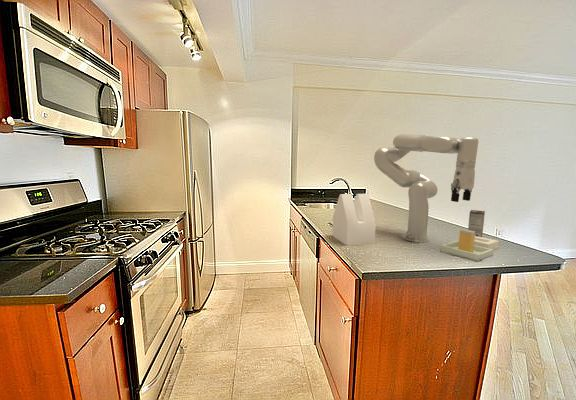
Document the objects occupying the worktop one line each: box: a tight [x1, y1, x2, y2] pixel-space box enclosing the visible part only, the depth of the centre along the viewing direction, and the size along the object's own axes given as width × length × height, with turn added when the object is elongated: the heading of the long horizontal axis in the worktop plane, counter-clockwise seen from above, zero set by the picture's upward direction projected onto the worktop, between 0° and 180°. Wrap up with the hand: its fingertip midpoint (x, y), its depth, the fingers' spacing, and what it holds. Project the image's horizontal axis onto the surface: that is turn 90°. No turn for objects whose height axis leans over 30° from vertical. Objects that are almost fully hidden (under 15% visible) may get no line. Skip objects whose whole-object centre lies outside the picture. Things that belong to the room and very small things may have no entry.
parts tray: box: [439, 240, 495, 263], centre depth 125 cm, size 14×16×3 cm
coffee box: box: [467, 209, 486, 238], centre depth 146 cm, size 9×6×16 cm
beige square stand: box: [474, 236, 500, 251], centre depth 134 cm, size 11×11×4 cm
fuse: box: [458, 228, 475, 253], centre depth 125 cm, size 3×5×10 cm, turn 31°
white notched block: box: [332, 193, 376, 246], centre depth 146 cm, size 19×15×25 cm
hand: (460, 200), depth 130 cm, fingers open, 9 cm apart
